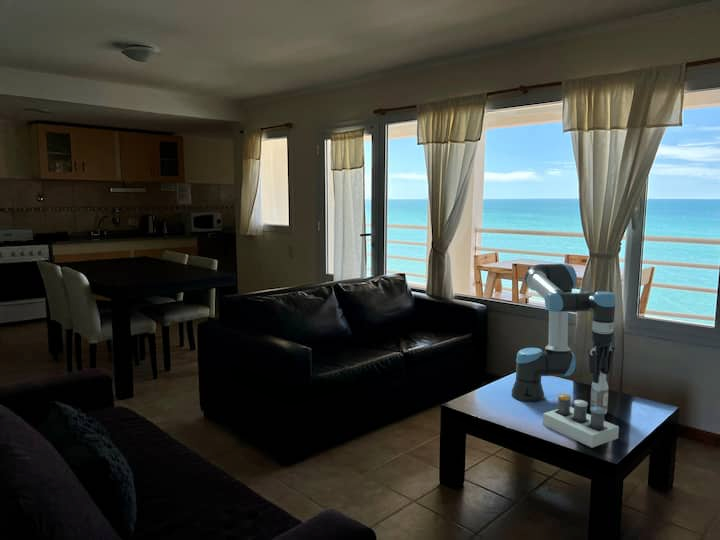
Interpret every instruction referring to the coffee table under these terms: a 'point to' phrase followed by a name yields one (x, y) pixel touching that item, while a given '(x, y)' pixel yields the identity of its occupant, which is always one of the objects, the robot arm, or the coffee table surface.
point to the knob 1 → (564, 404)
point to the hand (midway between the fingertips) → (599, 389)
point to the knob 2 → (580, 411)
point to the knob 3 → (597, 418)
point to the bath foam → (599, 398)
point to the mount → (580, 428)
